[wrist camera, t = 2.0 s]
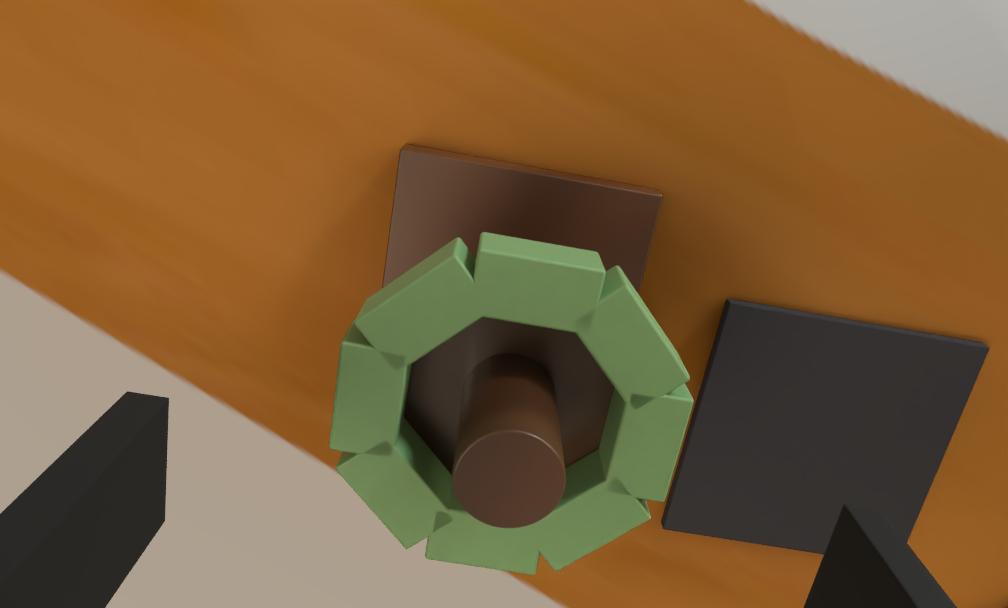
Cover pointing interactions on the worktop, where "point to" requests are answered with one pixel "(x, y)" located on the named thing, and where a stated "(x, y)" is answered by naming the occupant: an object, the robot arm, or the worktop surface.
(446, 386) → the peg stand
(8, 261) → the worktop surface
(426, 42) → the worktop surface
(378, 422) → the ring
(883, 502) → the mat
